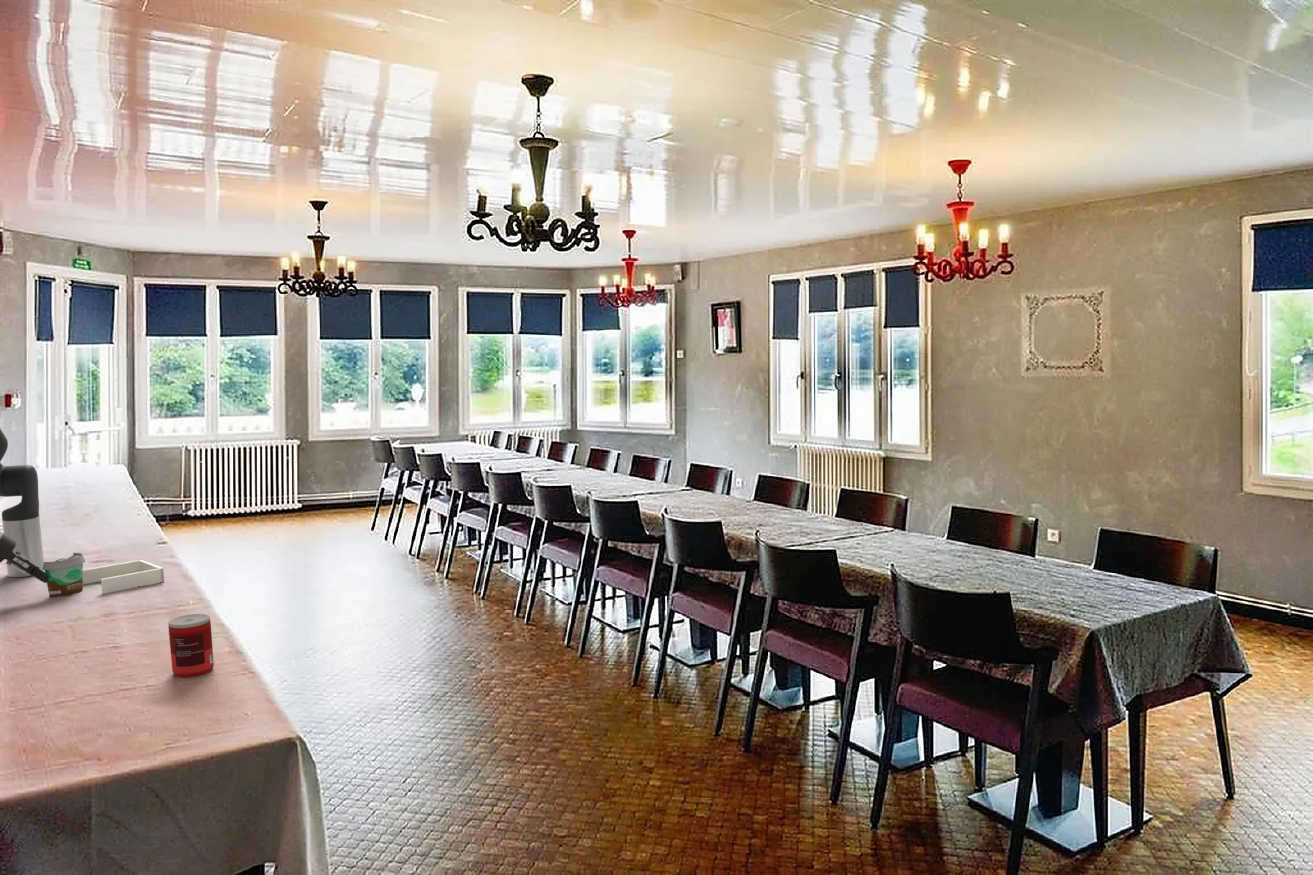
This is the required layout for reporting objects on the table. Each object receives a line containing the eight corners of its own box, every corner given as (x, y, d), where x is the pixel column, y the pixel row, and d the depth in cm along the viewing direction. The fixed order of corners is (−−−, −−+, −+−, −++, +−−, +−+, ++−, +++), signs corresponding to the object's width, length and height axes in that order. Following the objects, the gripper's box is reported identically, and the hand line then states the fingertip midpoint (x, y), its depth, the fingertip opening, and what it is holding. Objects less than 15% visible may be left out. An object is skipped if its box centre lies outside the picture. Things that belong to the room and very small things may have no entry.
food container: (66, 598, 247) (63, 562, 246) (45, 598, 248) (41, 562, 247) (98, 586, 259) (95, 552, 258) (77, 586, 260) (74, 552, 259)
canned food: (201, 662, 193) (197, 611, 191) (222, 669, 188) (218, 617, 187) (164, 673, 186) (160, 621, 185) (185, 680, 182) (180, 627, 181)
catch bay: (82, 583, 263) (81, 570, 263) (142, 572, 275) (141, 559, 274) (103, 593, 251) (101, 579, 251) (164, 581, 263) (163, 568, 262)
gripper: (7, 534, 236) (65, 572, 246) (-6, 529, 245) (51, 565, 255) (-16, 558, 233) (44, 595, 243) (-28, 551, 241) (30, 587, 252)
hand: (47, 580), depth 249 cm, fingers closed
